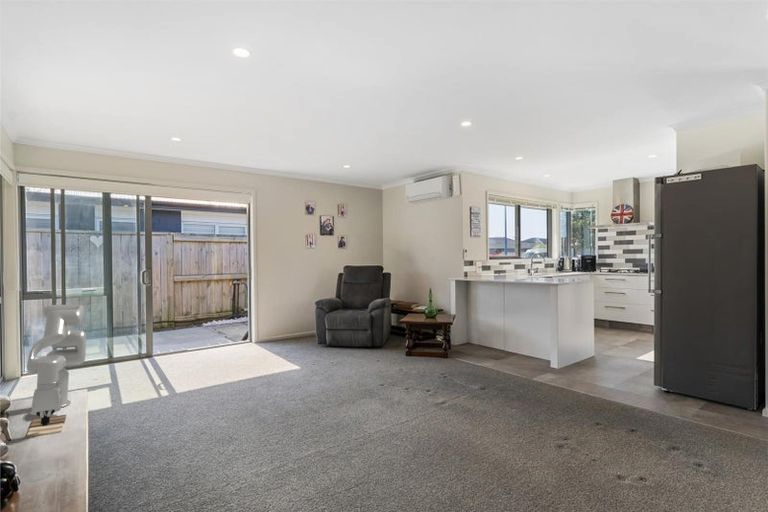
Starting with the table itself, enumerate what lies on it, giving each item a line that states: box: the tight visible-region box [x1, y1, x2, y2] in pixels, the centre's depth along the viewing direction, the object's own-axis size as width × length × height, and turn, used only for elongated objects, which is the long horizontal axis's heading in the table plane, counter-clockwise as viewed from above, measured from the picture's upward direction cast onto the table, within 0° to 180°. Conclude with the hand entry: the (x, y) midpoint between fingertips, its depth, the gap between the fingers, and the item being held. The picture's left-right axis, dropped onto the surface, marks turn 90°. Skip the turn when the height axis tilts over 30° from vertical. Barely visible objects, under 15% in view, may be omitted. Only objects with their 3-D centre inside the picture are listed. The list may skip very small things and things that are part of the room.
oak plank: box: [25, 423, 64, 439], centre depth 185 cm, size 11×12×2 cm
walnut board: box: [29, 414, 67, 429], centre depth 195 cm, size 12×13×2 cm
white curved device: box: [44, 411, 59, 417], centre depth 207 cm, size 17×5×10 cm, turn 38°
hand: (45, 425), depth 183 cm, fingers closed
